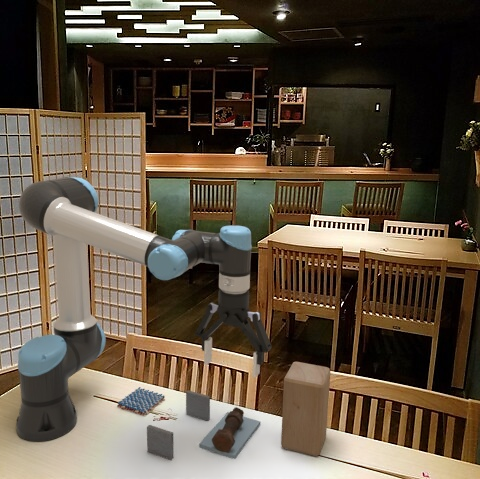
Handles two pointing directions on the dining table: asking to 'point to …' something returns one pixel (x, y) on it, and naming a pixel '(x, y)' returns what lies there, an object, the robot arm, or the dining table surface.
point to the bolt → (228, 431)
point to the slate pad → (239, 436)
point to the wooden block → (305, 408)
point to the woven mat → (141, 401)
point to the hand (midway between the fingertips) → (231, 368)
